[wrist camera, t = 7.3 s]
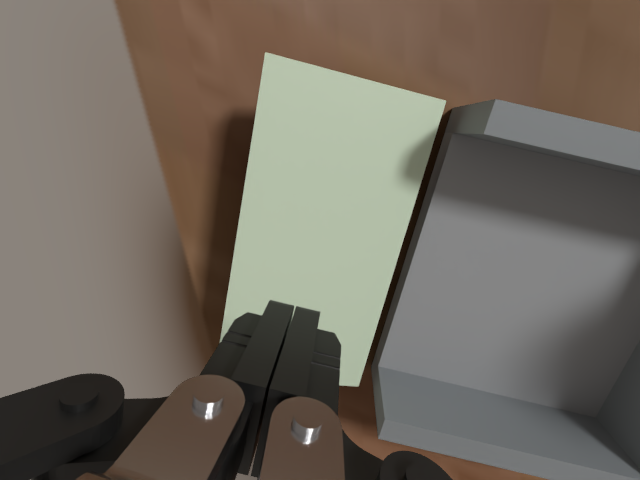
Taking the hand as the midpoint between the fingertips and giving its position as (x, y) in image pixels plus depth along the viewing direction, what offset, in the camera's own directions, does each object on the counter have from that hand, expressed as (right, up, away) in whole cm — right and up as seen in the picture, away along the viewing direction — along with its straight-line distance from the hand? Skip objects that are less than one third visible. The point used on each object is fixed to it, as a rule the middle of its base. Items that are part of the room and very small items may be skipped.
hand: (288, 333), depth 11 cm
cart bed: (+13, 0, +10) cm, 16 cm away
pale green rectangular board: (+5, +2, +8) cm, 10 cm away
